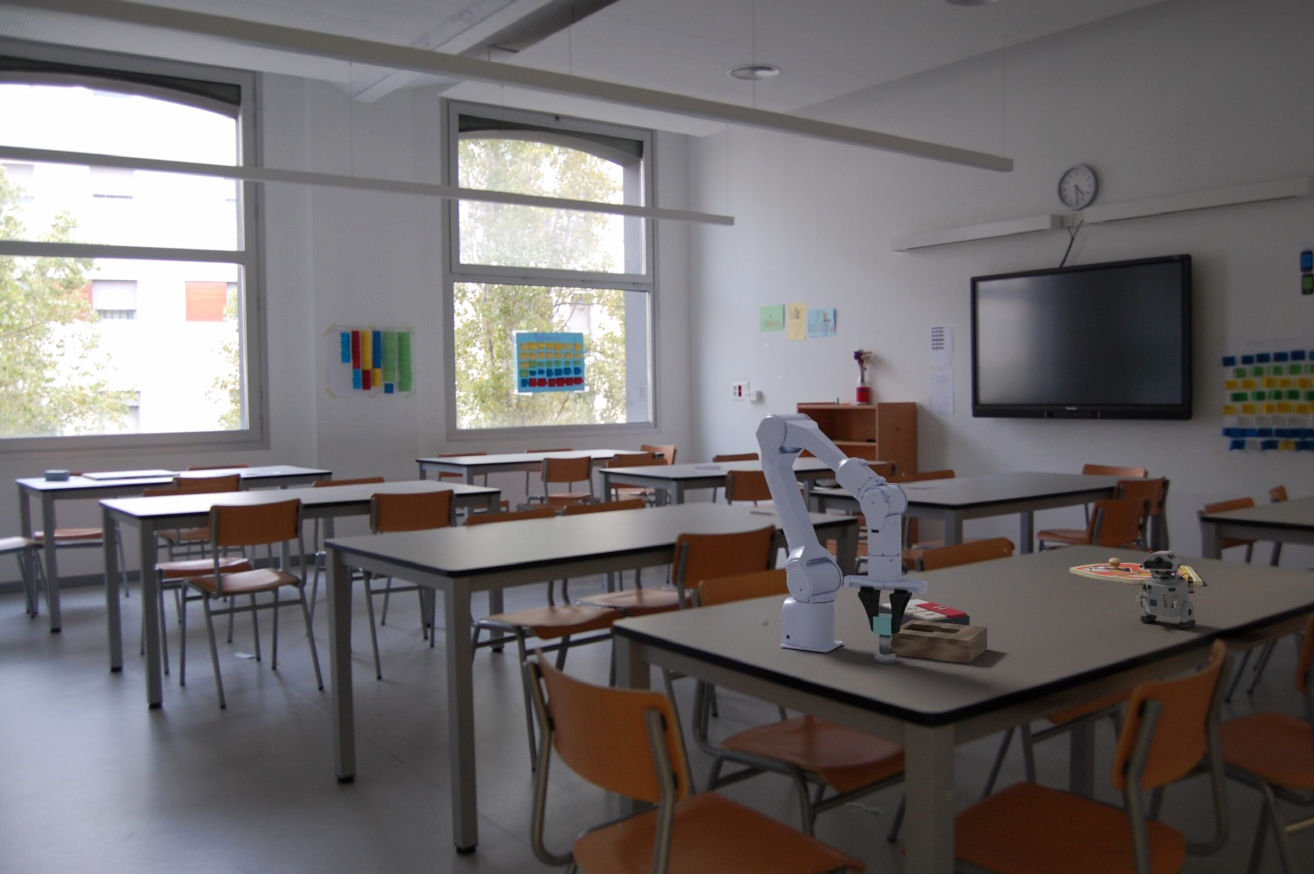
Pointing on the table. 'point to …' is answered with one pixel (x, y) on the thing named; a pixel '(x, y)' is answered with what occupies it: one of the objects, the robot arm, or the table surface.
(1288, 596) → the table surface
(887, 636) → the peg
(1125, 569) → the knob puzzle
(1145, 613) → the figurine
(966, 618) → the calculator
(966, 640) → the keyhole plate
